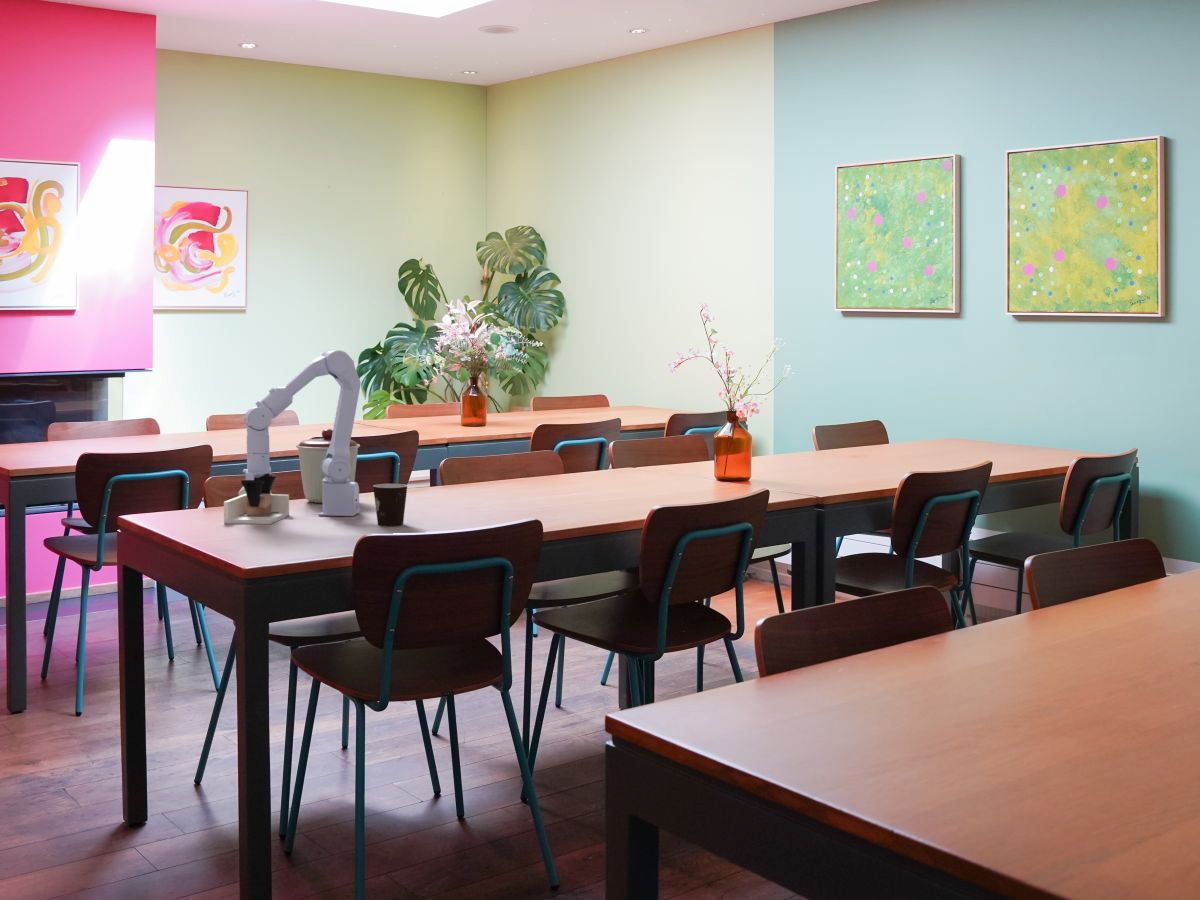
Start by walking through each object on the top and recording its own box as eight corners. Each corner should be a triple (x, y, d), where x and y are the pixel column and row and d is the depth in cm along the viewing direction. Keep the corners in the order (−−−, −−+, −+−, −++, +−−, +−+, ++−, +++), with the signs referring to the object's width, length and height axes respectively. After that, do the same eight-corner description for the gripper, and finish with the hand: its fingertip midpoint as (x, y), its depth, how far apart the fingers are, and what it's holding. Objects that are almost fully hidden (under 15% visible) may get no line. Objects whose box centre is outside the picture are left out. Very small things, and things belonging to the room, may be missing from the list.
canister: (370, 503, 361) (370, 430, 359) (310, 507, 351) (309, 432, 349) (345, 496, 376) (345, 425, 374) (287, 500, 366) (286, 427, 364)
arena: (289, 515, 336) (288, 494, 335) (270, 524, 320) (269, 502, 319) (245, 514, 336) (244, 493, 336) (224, 523, 320) (223, 501, 320)
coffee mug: (375, 522, 325) (374, 483, 324) (408, 521, 326) (408, 483, 325) (370, 529, 313) (370, 489, 312) (405, 528, 314) (405, 489, 313)
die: (254, 515, 339) (276, 485, 341) (227, 498, 340) (249, 468, 343) (262, 522, 347) (283, 492, 350) (235, 505, 348) (257, 475, 351)
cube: (271, 512, 332) (271, 493, 331) (265, 515, 327) (265, 496, 326) (252, 512, 332) (252, 493, 332) (246, 514, 327) (246, 495, 327)
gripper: (252, 450, 335) (253, 500, 337) (233, 455, 321) (234, 508, 322) (278, 450, 335) (279, 501, 336) (260, 455, 321) (261, 508, 322)
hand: (259, 504), depth 329 cm, fingers open, 7 cm apart
